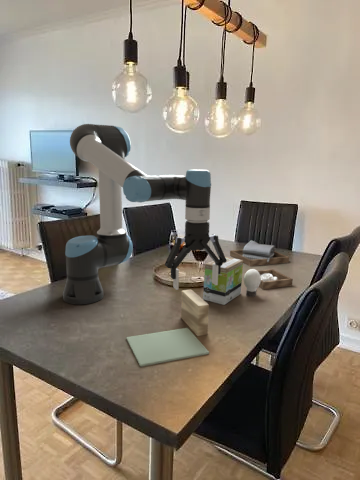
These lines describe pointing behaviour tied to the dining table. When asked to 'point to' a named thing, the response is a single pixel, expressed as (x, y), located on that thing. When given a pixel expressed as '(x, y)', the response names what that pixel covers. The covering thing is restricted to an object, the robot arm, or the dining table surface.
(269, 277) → the rose
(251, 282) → the light bulb
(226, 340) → the dining table surface
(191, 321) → the tan rectangular box
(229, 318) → the dining table surface
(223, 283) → the tea box
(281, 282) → the rose frame
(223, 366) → the dining table surface
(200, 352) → the mat
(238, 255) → the frame
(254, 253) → the towel
